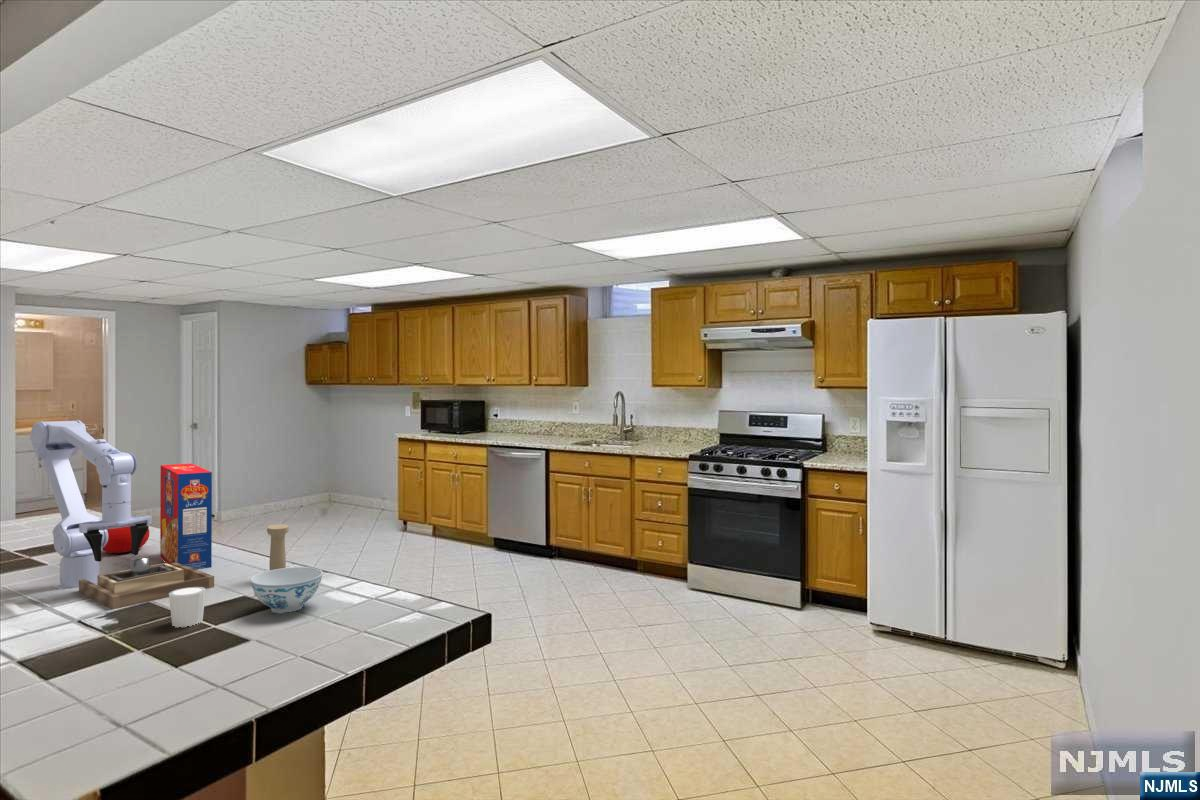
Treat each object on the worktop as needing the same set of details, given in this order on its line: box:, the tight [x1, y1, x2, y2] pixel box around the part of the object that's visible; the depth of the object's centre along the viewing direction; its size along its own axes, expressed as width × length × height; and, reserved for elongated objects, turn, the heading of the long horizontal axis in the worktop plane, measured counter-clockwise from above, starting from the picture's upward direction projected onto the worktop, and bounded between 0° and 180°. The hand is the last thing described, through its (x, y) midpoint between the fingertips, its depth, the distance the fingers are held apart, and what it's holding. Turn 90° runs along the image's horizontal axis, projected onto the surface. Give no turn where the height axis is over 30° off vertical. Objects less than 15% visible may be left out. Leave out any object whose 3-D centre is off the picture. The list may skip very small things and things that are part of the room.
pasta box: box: [159, 463, 213, 570], centre depth 191 cm, size 28×8×28 cm, turn 42°
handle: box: [266, 523, 289, 571], centre depth 173 cm, size 5×6×15 cm
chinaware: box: [250, 566, 323, 614], centre depth 153 cm, size 15×15×8 cm
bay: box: [78, 562, 215, 610], centre depth 163 cm, size 22×21×4 cm
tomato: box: [102, 525, 150, 554], centre depth 205 cm, size 14×13×10 cm
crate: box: [96, 562, 185, 595], centre depth 165 cm, size 11×15×4 cm
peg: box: [129, 555, 151, 577], centre depth 165 cm, size 4×4×6 cm
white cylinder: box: [168, 587, 207, 628], centre depth 143 cm, size 7×7×7 cm
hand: (116, 557), depth 161 cm, fingers open, 7 cm apart
